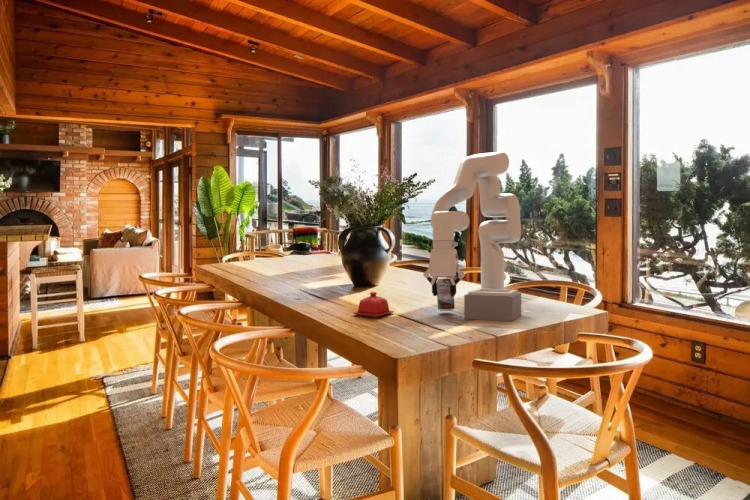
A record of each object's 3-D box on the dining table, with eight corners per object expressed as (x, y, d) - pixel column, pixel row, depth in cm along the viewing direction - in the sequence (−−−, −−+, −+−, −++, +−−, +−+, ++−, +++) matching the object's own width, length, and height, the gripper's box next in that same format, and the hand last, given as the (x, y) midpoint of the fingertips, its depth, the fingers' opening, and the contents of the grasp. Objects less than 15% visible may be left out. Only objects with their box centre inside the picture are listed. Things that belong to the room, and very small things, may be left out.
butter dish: (377, 318, 189) (377, 294, 189) (351, 316, 196) (350, 292, 196) (395, 314, 198) (395, 291, 198) (369, 312, 205) (369, 289, 205)
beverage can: (442, 313, 193) (441, 279, 192) (433, 310, 200) (433, 277, 199) (458, 312, 195) (457, 278, 194) (449, 309, 202) (448, 276, 201)
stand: (476, 312, 200) (476, 288, 200) (521, 315, 193) (521, 289, 193) (464, 318, 185) (464, 292, 185) (512, 321, 179) (512, 293, 178)
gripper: (469, 245, 196) (470, 295, 197) (424, 245, 204) (425, 294, 204) (463, 245, 190) (464, 297, 190) (417, 246, 197) (417, 296, 197)
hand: (444, 295), depth 197 cm, fingers closed on beverage can, 5 cm apart
